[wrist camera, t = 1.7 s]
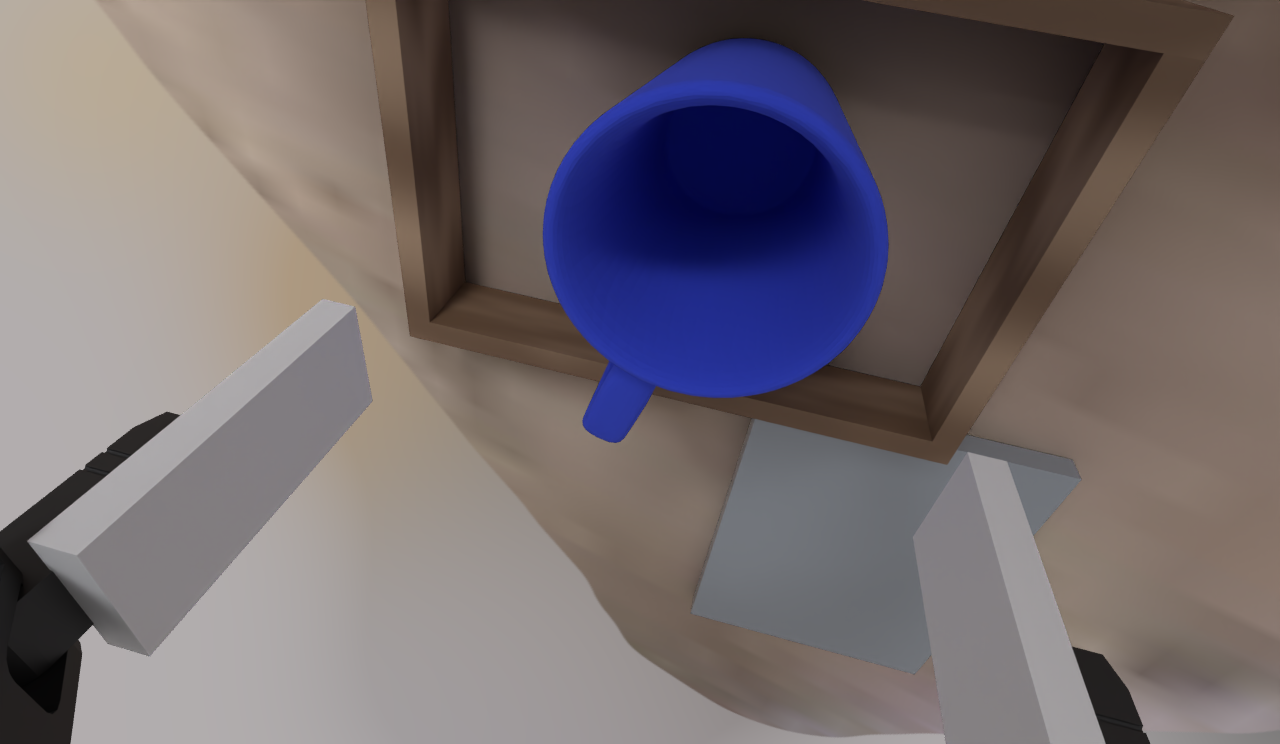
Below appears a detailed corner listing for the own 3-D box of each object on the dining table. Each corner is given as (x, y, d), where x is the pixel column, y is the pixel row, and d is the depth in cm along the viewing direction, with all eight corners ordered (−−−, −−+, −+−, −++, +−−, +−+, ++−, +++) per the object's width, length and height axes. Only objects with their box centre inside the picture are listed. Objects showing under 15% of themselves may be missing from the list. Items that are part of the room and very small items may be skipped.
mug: (567, 258, 27) (470, 405, 20) (692, -43, 20) (614, 3, 12) (733, 342, 28) (702, 515, 20) (915, 84, 20) (976, 203, 13)
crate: (411, -132, 20) (347, -135, 17) (1170, -4, 18) (1233, 16, 15) (446, 295, 30) (410, 336, 27) (934, 408, 28) (947, 465, 25)
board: (761, 386, 29) (760, 403, 28) (1072, 459, 28) (1081, 479, 27) (693, 596, 40) (690, 613, 40) (912, 655, 39) (914, 674, 38)
